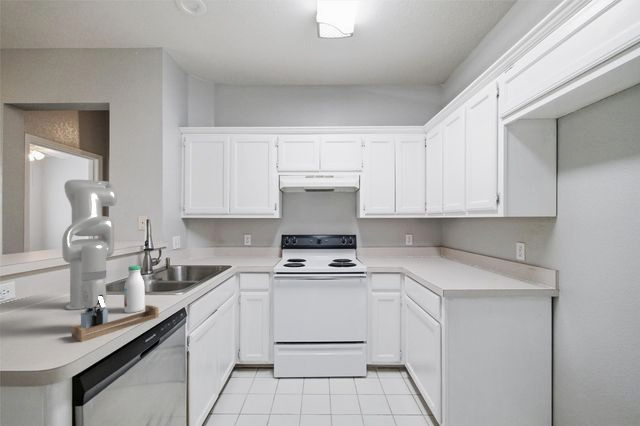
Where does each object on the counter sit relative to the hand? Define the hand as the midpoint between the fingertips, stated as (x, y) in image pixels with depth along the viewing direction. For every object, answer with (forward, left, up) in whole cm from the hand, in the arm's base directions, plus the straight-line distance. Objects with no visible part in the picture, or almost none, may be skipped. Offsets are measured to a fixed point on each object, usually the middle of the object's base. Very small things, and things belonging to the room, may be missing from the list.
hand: (94, 323), depth 108 cm
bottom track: (+7, +5, -2) cm, 9 cm away
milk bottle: (-7, +18, -2) cm, 20 cm away
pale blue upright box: (0, 0, -2) cm, 2 cm away
